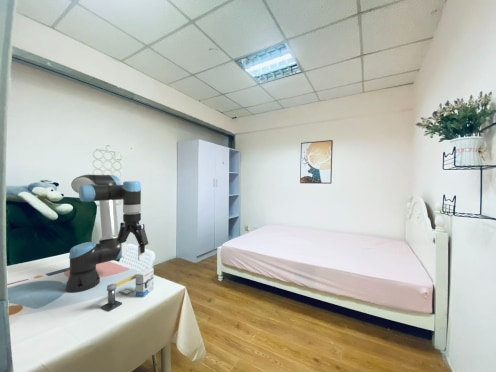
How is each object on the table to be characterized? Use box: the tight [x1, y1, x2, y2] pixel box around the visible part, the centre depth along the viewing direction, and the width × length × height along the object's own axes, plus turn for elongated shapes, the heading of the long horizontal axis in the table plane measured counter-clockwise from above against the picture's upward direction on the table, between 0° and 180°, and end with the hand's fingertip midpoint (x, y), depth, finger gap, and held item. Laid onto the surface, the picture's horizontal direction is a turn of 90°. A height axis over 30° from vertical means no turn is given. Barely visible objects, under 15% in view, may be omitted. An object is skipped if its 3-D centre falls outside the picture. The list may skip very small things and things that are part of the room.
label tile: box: [118, 288, 135, 297], centre depth 109 cm, size 6×4×1 cm, turn 66°
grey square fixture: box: [100, 289, 123, 312], centre depth 97 cm, size 6×6×8 cm
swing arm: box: [106, 273, 136, 292], centre depth 103 cm, size 4×18×2 cm, turn 156°
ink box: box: [135, 266, 155, 298], centre depth 109 cm, size 8×5×12 cm, turn 168°
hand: (132, 257), depth 100 cm, fingers open, 11 cm apart
